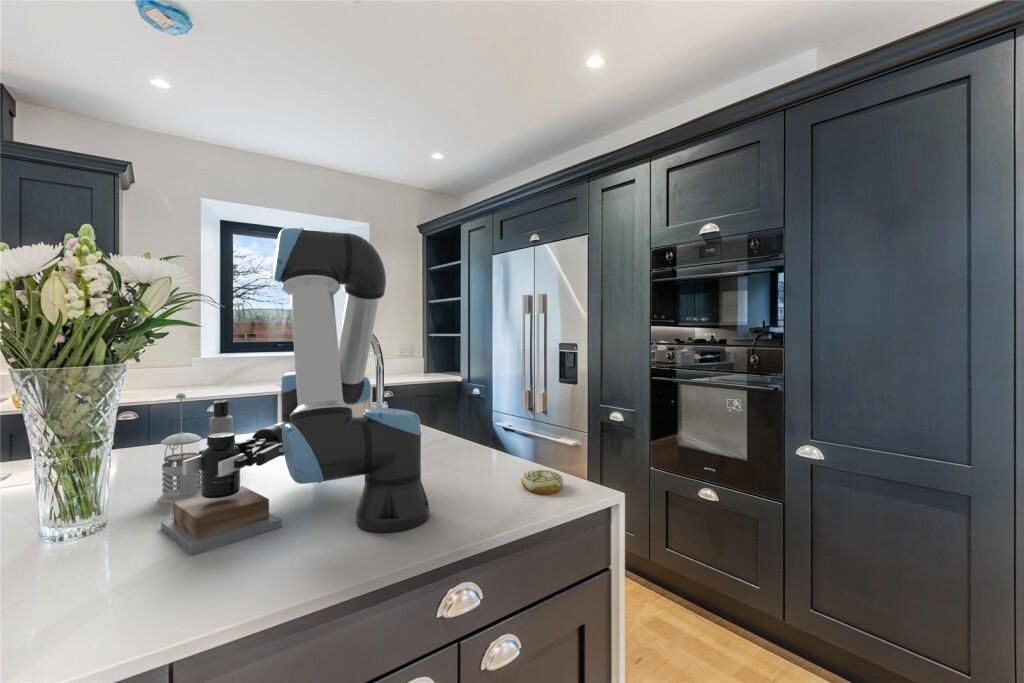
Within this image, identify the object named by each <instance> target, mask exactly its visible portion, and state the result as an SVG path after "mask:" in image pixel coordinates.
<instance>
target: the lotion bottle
mask: <svg viewBox="0 0 1024 683" xmlns="http://www.w3.org/2000/svg"><path fill="white" fill-rule="evenodd" d="M212 404H213V405H212V406H213V416H211V417H209V435H211V434H216V433H234V428H233V427H234V422H233V420H234V419H233V416H232V415H230V410H229V409H230V407H229V406H230V405H229V404H230V402H229V401H228V399H220V400H215V401H213V403H212Z"/></svg>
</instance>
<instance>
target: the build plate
mask: <svg viewBox="0 0 1024 683" xmlns="http://www.w3.org/2000/svg"><path fill="white" fill-rule="evenodd" d="M281 527H283V519H282V518H281V517H278V516H277V515H275V514H273V513H271V512H270V511H269V519H266V520H262V521H259V522H256V523H252V524H249V525H245V526H242V527H239V528H235V529H232V530H229V531H225V532H222V533H218V534H215V535H212V536H208V537H205V538H202V539H198V540H196V539H194V538H193V537H192V536H191V535H189V534H188V533H187V532H185V531H184V530H183V529H182V528H180V527H179V526H178V525H177V524H175V523H174V517H173V518H168V519H165V520H160V530H162V531H163V532H164V533H165V534H166V535H168V536H169V537H170V538H171V539H172V540H173V541H175V542H176V543H177V544H178V545H179V546H180V547H182V548H183V549H184V550H185V551H186V552H187V551H188V552H187V553H188V554H190V555H191V556H193V554H194V555H197V554H200V553H203V552H206V551H209V549H210V550H212V548H213V549H215V547H216V548H219V547H222V546H225V544H226V545H228V543H229V544H231V542H232V543H235V542H237V540H238V541H241V540H245V539H248V538H251V537H254V536H257V535H260V534H263V533H267V532H270V531H273V530H276V529H279V528H281ZM247 537H248V538H247ZM244 538H245V539H244ZM234 541H235V542H234ZM221 545H222V546H221ZM202 551H203V552H202ZM199 552H200V553H199ZM196 553H197V554H196Z"/></svg>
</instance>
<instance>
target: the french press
mask: <svg viewBox="0 0 1024 683" xmlns="http://www.w3.org/2000/svg"><path fill="white" fill-rule="evenodd" d="M175 398H176V399H180V432H179V433H175V434H172V435H171V434H170V435H169V436H166V437H165V438H164V439H162V440H161V441H160V443H161V444H162V445H165V446H166V447H165V451H164V458H163V460H164V463H163V464H162V465H161V471H162V472H161V476H162V478H161V480H162V484H161V485H162V487H163V488H162V494H161V495H160V497H158V499H157V500H158V501H159V502H158V503H160V502H163V503H162V504H173V502H177V501H181V500H186V499H190V498H194V497H198V496H202V495H201V470H199V471H196V472H193V473H191V474H188V475H183V463H182V461H184V460H187V459H190V458H193V457H196V456H199V452H184V453H183V445H188V444H189V445H190V444H193V443H197V442H200V441H201V440H202V437H201V436H200V435H198V434H195V433H191V432H183V413H182V412H183V411H182V410H183V408H182V406H183V404H182V403H183V401H182V400H183V399H185V398H186V394H185V393H183V392H182V393H177V394H176V396H175ZM172 446H173V447H172ZM176 446H177V447H176ZM179 446H180V452H179V453H174V452H175V450H177V449H178V448H179ZM168 448H169V449H170V450H172V453H171V454H170V455H167V449H168ZM175 465H176V466H175ZM174 477H176V478H174ZM174 483H176V484H174Z"/></svg>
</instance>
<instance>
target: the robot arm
mask: <svg viewBox="0 0 1024 683" xmlns="http://www.w3.org/2000/svg"><path fill="white" fill-rule="evenodd" d="M273 261H274V262H273V269H272V271H273V272H272V277H273V278H272V279H273V281H275V282H278V283H281V289H282V292H283V293H285V294H286V295H287V296H289V297H290V310H291V322H292V324H291V325H292V340H293V341H292V342H293V356H294V357H293V358H294V369H295V370H294V371H292V372H291V371H290V372H285V373H284V374H283V375H282V377H281V387H280V388H281V390H280V396H281V398H280V399H281V401H280V402H281V422H279V423H275V424H272V425H270V426H267V427H264V428H261V429H259V430H257V431H255V433H254V434H253V435H252V437H251V438H247V439H246V440H244V441H240V442H235V443H234V446H237V447H238V448H239V449H240V454H239V455H236V456H234V457H231V458H228V459H226V460H223V461H220V462H218V476H224V475H227V474H229V473H231V472H234V471H236V470H238V469H240V470H241V469H243V468H245V467H252V466H254V465H256V466H258V467H261V466H263V465H265V464H267V463H269V462H271V461H273V460H275V459H277V458H279V457H284V460H285V463H286V468H287V470H288V473H289V475H290V477H291V479H292V480H293V481H294V482H295V483H296V484H300V485H304V484H305V485H306V484H314V483H318V484H322V483H323V482H327V481H333V480H334V481H335V480H341V479H345V478H352V477H357V476H363V475H364V485H363V488H362V492H361V496H360V498H359V503H358V506H357V508H356V510H355V524H356V525H357V526H358V528H360V529H361V530H364V531H368V532H374V533H393V532H395V533H396V532H401V531H406V530H410V529H413V528H415V527H418V526H421V525H423V524H424V523H425V522H427V521H428V519H429V518H430V504H429V500H428V498H427V494H426V492H425V488H424V485H423V483H422V436H423V435H422V434H423V433H422V430H421V428H422V427H421V418H420V416H419V415H418V414H417V413H415V412H414V411H410V410H406V409H398V408H388V407H387V408H386V407H371V408H365V410H364V412H363V413H362V414H363V416H360V417H354V416H353V409H352V407H351V406H353V405H359V404H366V403H368V402H369V400H370V398H371V394H372V393H371V392H372V391H371V390H372V387H371V381H370V378H368V377H367V376H365V374H366V369H367V364H368V358H369V355H370V354H369V353H370V347H371V343H372V337H373V331H374V326H375V321H376V317H377V310H378V306H379V300H380V299H382V298H383V297H384V295H385V291H386V285H387V276H386V270H385V267H384V263H383V260H382V259H381V256H380V254H379V252H378V251H377V249H376V248H375V247H374V246H373V245H372V244H371V243H370V241H368V240H367V239H366V238H364V237H362V236H360V235H357V234H355V233H349V232H345V233H344V232H338V231H327V230H316V229H307V228H304V227H283V228H282V229H281V230H280V231H279V233H278V236H277V241H276V246H275V254H274V260H273ZM341 285H343V286H342V287H343V288H342V289H343V291H344V293H346V296H345V297H346V298H345V302H344V303H345V304H344V312H343V318H342V324H341V325H342V326H341V331H340V337H339V340H338V330H337V320H336V319H337V318H336V309H335V300H334V296H335V295H336V294H337V293H338V292H339V291H340V289H341ZM338 341H339V342H338ZM350 405H351V406H350ZM204 450H205V449H202V450H199V451H198V454H199V456H196V457H193V458H190V459H187V460H184V461H182V463H183V475H188V474H191V473H193V472H196V471H199V470H201V454H202V452H203V451H204Z"/></svg>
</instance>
